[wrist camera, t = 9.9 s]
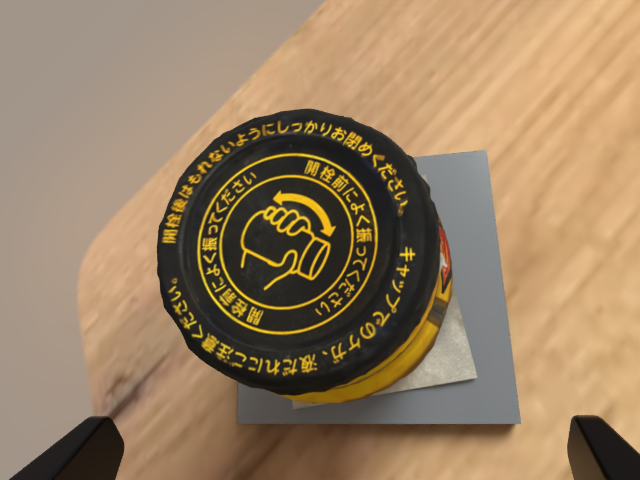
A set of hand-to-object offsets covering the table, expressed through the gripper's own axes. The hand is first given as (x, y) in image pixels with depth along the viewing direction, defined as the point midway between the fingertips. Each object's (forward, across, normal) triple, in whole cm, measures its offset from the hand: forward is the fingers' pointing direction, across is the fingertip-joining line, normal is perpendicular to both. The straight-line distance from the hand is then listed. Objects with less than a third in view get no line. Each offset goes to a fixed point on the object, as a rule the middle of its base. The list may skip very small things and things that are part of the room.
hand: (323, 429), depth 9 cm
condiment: (+10, 0, +4) cm, 11 cm away
